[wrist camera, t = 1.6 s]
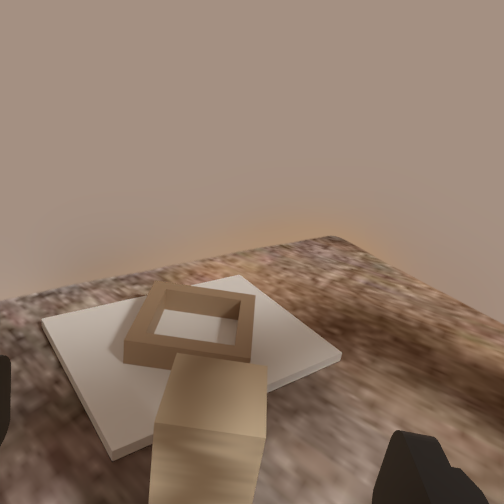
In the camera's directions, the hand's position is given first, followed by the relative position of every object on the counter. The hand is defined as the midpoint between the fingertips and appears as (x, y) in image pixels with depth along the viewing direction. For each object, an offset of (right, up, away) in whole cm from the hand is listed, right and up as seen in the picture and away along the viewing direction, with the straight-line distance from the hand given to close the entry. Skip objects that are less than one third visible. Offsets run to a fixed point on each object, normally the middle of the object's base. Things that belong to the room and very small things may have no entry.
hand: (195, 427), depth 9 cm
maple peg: (-2, -14, +18) cm, 23 cm away
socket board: (-5, -6, +35) cm, 36 cm away
